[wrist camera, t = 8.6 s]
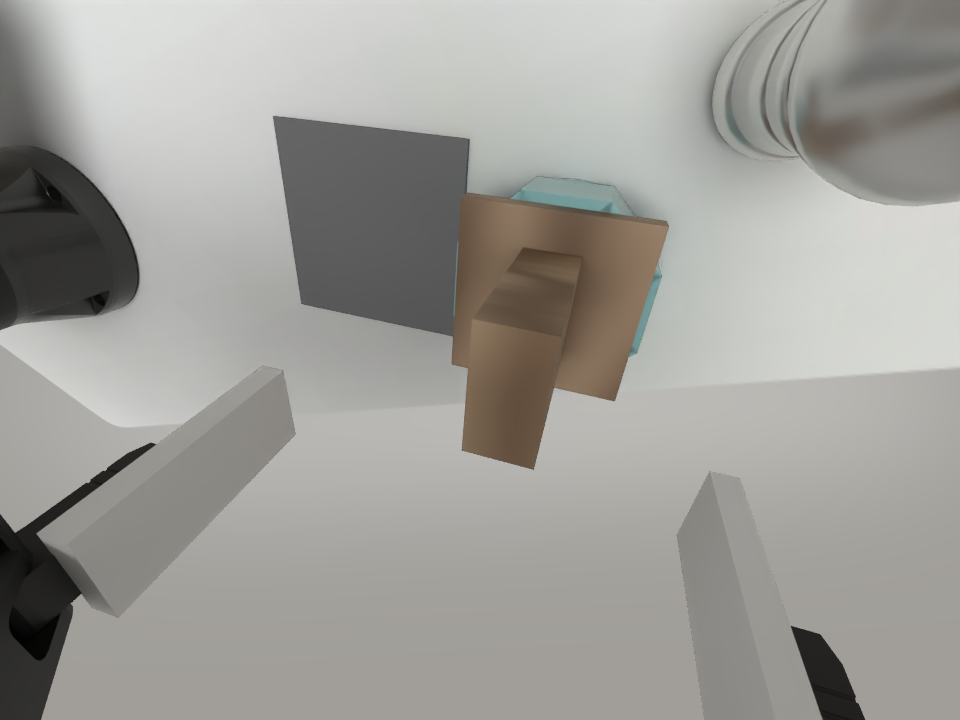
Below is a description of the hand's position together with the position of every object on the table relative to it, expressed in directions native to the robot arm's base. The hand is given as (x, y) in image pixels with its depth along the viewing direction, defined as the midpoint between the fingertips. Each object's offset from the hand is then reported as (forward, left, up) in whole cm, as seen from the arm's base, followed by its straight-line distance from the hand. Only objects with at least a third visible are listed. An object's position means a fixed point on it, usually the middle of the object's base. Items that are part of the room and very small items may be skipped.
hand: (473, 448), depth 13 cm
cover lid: (0, 0, -13) cm, 13 cm away
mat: (-14, 0, -19) cm, 23 cm away
